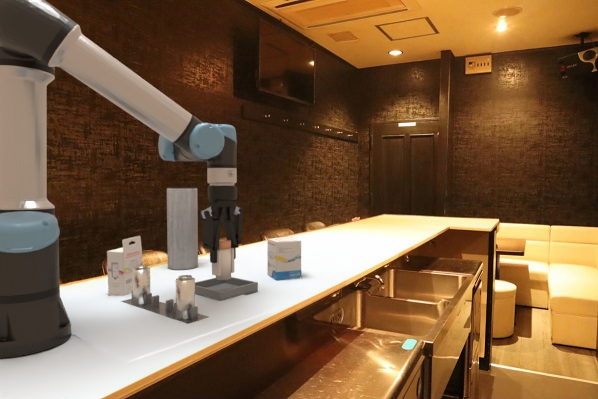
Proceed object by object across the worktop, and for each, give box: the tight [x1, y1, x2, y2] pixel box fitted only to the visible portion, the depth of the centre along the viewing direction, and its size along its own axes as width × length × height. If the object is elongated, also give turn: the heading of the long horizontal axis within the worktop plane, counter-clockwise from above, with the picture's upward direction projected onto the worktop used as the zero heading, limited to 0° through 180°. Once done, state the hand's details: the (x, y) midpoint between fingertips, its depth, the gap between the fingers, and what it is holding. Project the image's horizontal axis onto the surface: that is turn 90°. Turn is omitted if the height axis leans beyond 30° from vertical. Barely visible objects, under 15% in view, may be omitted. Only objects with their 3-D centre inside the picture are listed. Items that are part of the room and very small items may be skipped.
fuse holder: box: [120, 264, 209, 325], centre depth 98 cm, size 6×26×9 cm, turn 52°
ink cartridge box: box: [106, 235, 143, 297], centre depth 113 cm, size 9×5×15 cm, turn 168°
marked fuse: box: [215, 239, 232, 280], centre depth 113 cm, size 4×4×10 cm
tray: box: [195, 276, 259, 302], centre depth 113 cm, size 13×13×2 cm
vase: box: [166, 187, 199, 271], centre depth 146 cm, size 10×10×27 cm
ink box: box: [267, 236, 302, 281], centre depth 133 cm, size 9×8×12 cm
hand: (223, 273), depth 113 cm, fingers closed on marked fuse, 4 cm apart
